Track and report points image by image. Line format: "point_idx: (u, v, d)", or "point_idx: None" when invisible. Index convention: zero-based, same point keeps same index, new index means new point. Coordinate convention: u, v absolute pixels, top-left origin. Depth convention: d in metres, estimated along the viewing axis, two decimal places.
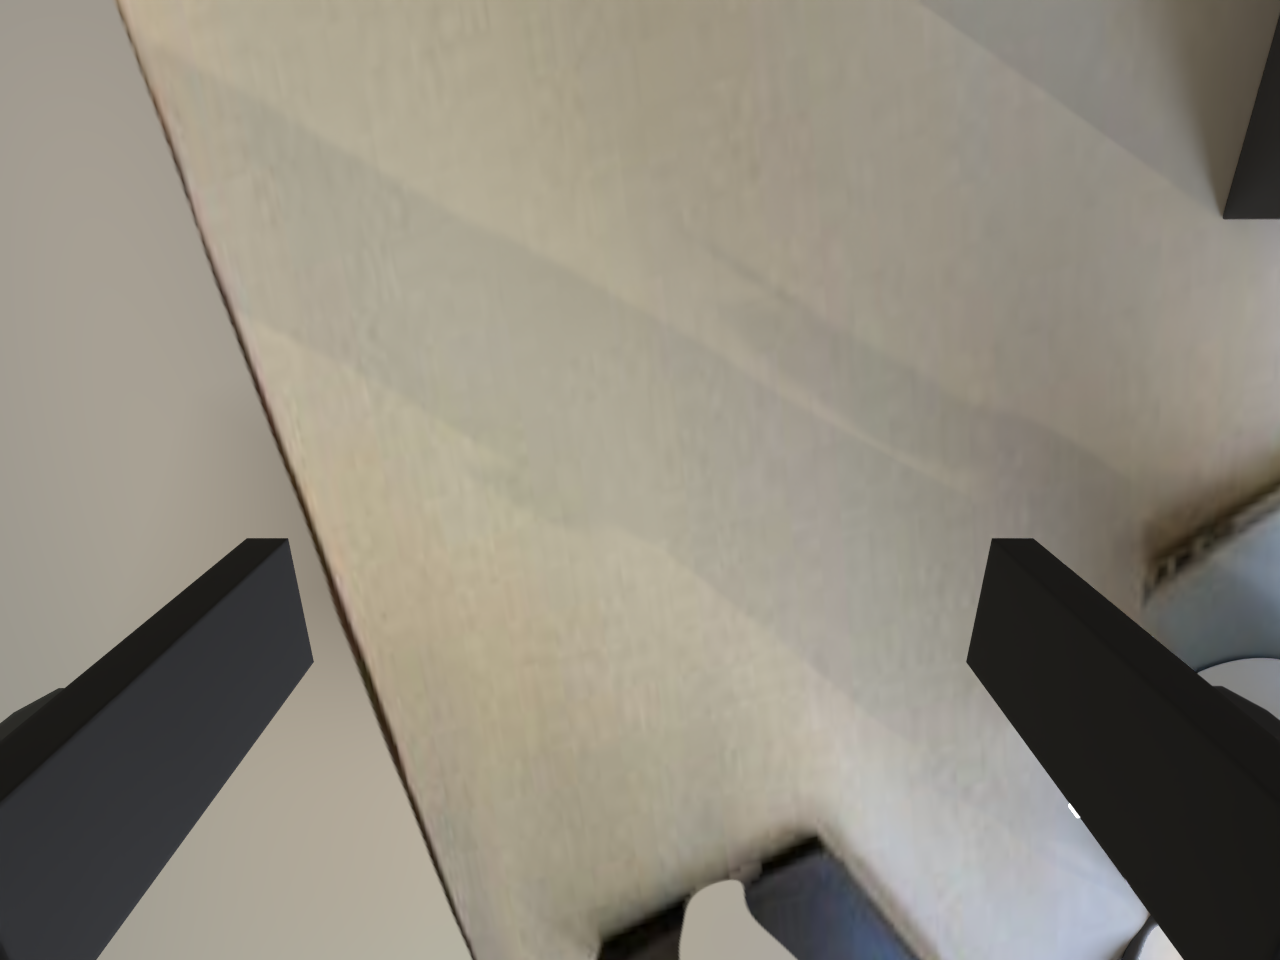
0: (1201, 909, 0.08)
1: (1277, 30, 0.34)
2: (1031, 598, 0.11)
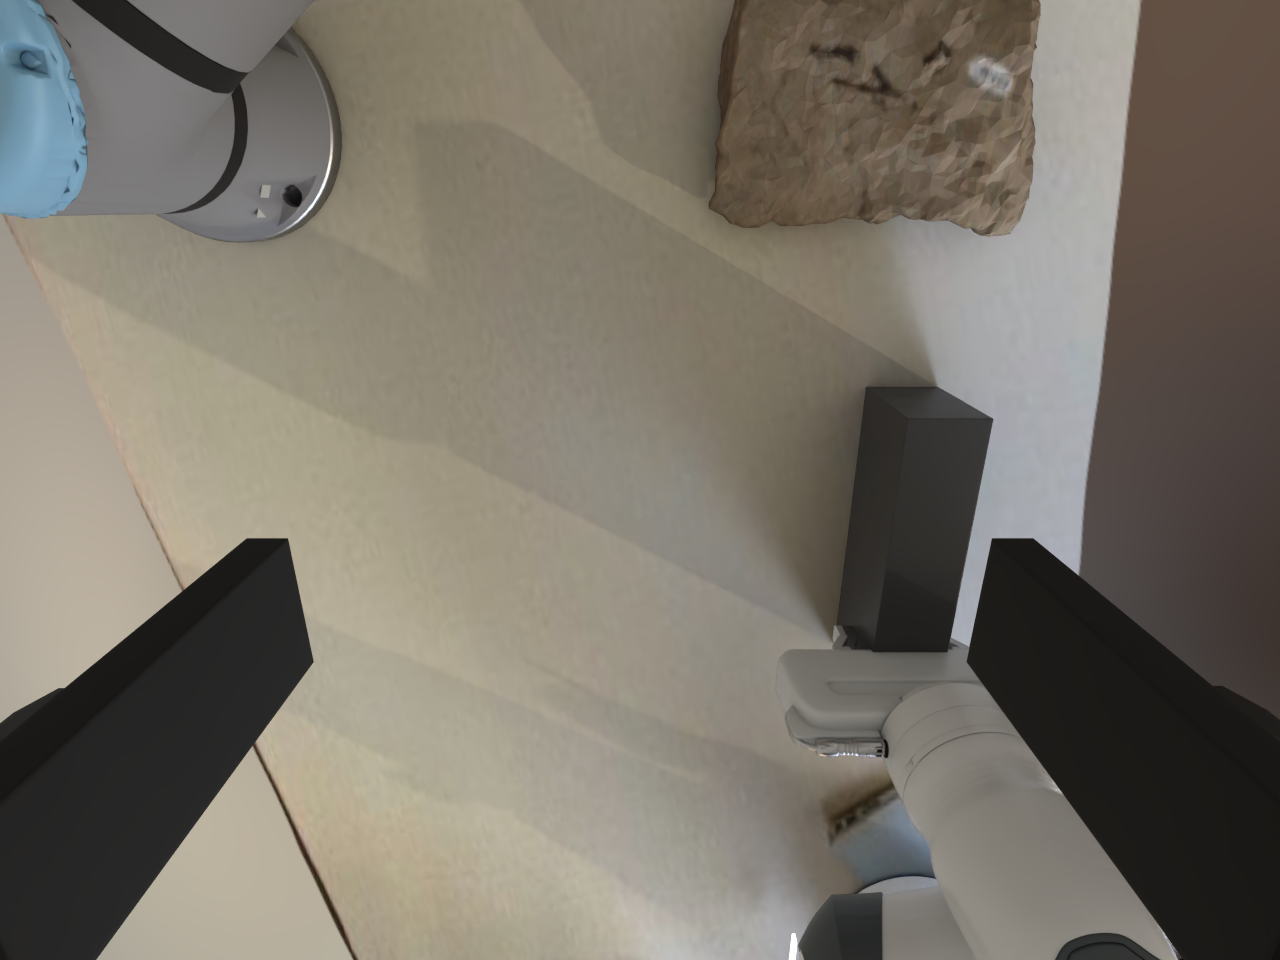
0: (1201, 909, 0.08)
1: (845, 558, 0.58)
2: (1031, 598, 0.11)
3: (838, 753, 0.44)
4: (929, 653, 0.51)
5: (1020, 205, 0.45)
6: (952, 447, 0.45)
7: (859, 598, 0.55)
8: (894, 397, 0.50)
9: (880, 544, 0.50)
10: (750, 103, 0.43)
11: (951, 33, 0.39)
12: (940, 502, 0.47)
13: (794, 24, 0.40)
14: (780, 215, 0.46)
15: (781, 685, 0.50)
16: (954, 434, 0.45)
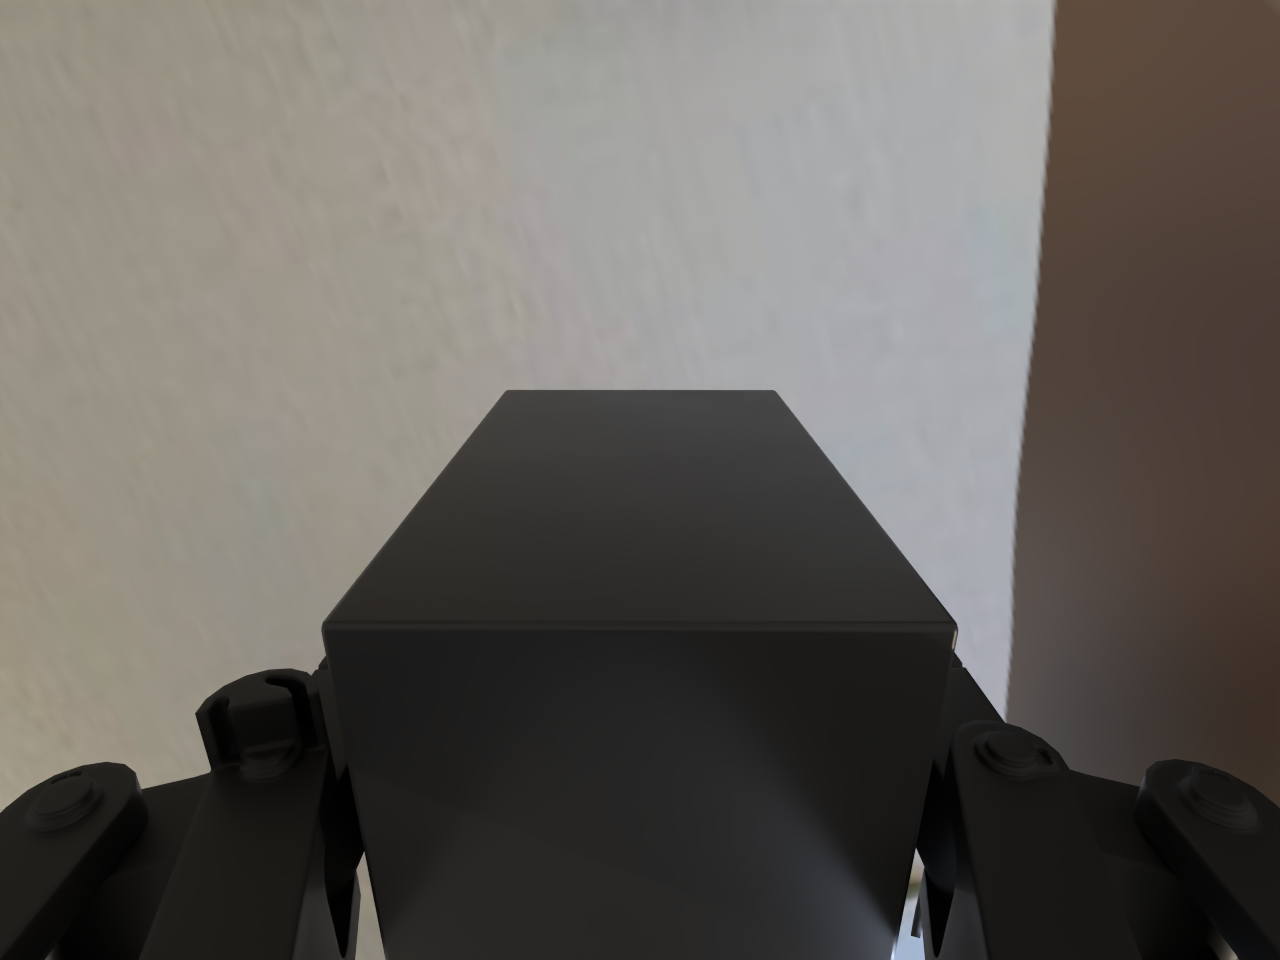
0: None
1: None
2: None
3: None
4: None
5: None
6: (686, 803, 0.07)
7: None
8: (533, 435, 0.11)
9: None
10: None
11: None
12: None
13: None
14: None
15: None
16: (686, 725, 0.06)
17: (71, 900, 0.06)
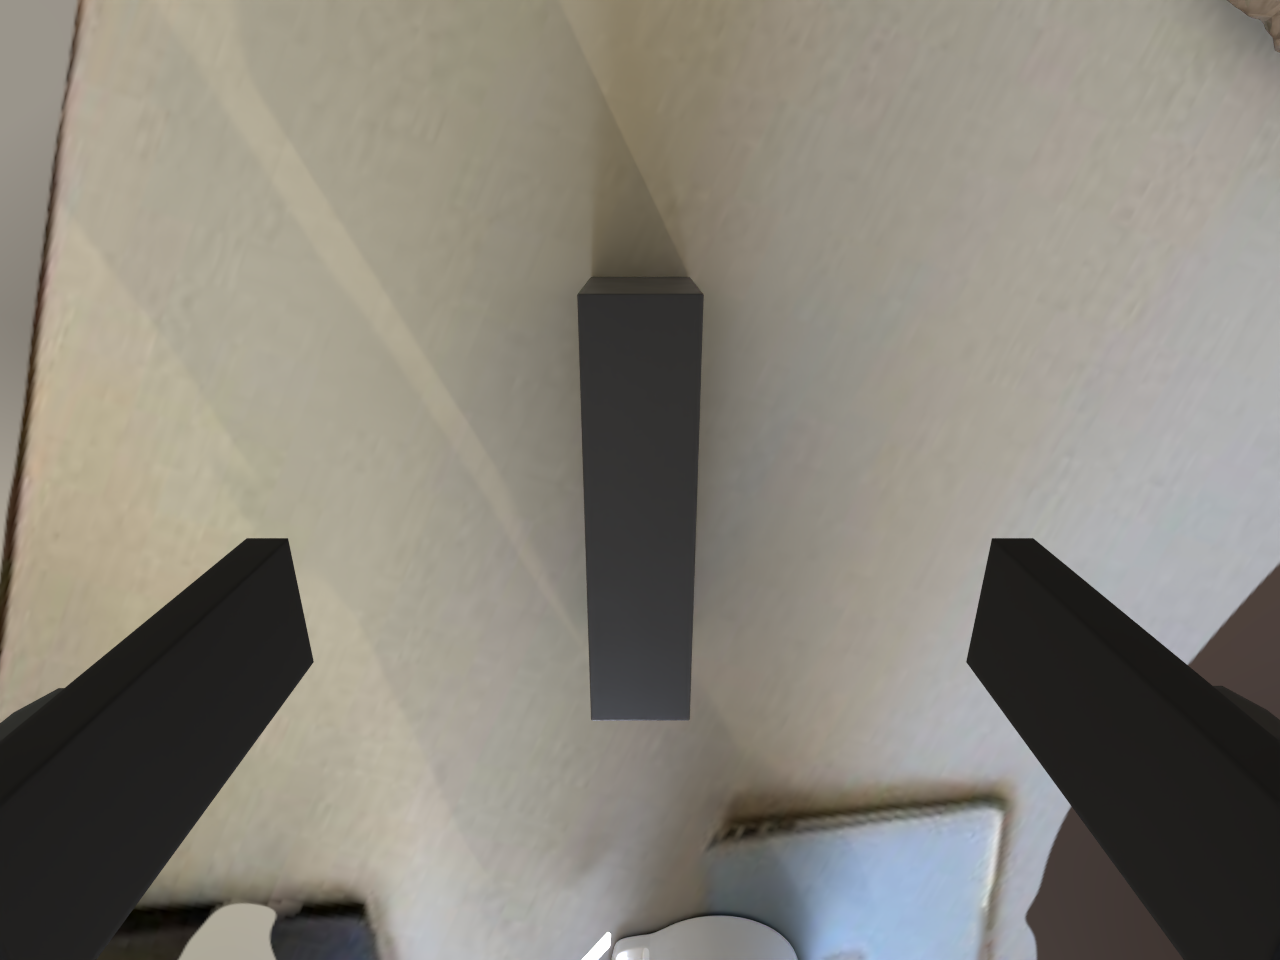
0: (1201, 909, 0.08)
1: None
2: (1031, 598, 0.11)
3: None
4: None
5: None
6: (650, 339, 0.31)
7: None
8: (606, 282, 0.36)
9: None
10: None
11: None
12: (647, 422, 0.33)
13: None
14: None
15: None
16: (649, 318, 0.31)
17: None
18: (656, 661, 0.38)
